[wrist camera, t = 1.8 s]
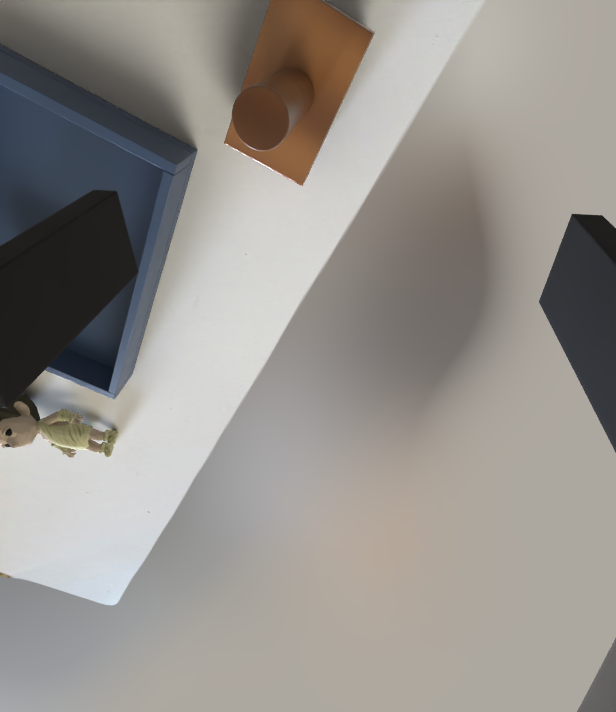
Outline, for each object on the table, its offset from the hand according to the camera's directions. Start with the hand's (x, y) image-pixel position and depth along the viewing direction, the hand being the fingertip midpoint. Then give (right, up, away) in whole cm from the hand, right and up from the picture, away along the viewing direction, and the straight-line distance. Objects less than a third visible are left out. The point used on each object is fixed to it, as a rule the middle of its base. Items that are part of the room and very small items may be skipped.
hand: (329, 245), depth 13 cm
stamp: (-1, +14, +15) cm, 21 cm away
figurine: (-31, -11, +41) cm, 52 cm away
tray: (-21, +7, +25) cm, 34 cm away
